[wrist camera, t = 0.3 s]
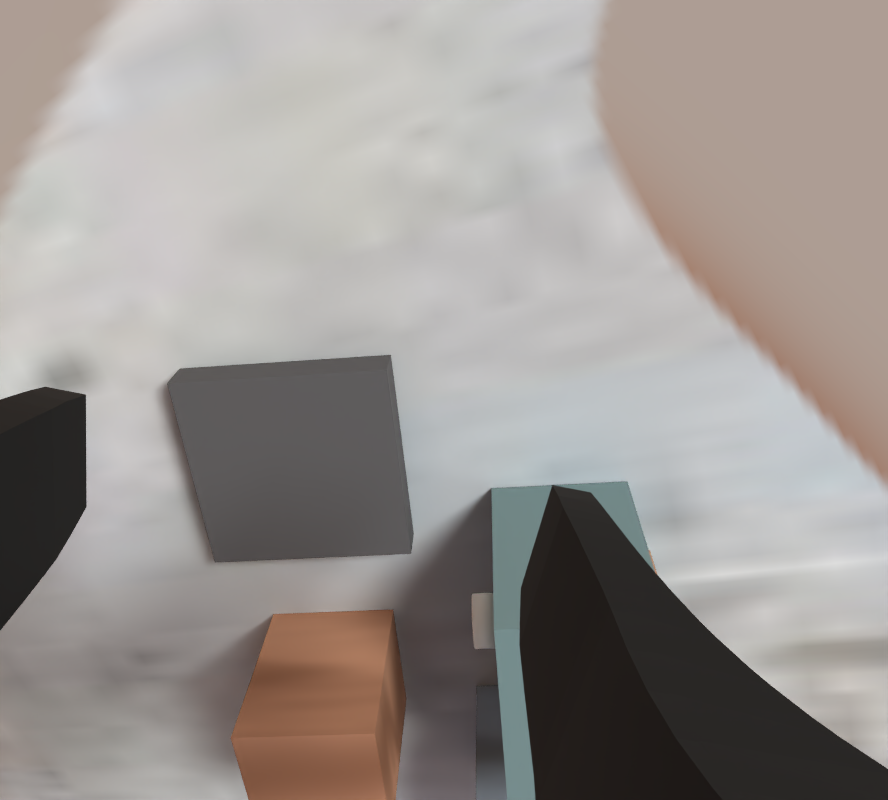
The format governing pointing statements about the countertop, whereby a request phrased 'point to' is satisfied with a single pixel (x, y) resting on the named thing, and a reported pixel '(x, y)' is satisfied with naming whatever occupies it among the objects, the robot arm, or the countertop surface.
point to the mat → (296, 458)
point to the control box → (501, 609)
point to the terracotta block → (324, 709)
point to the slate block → (489, 746)
